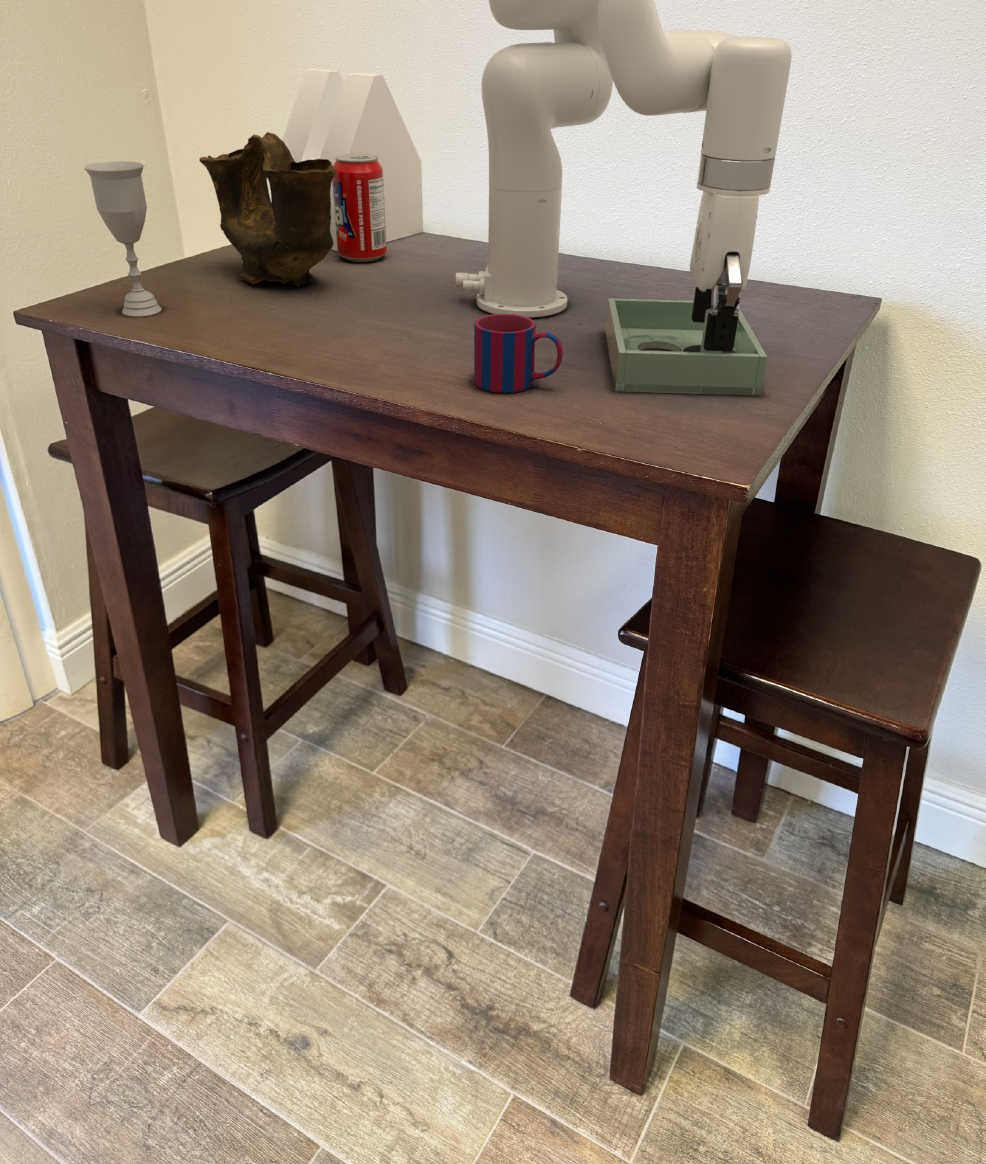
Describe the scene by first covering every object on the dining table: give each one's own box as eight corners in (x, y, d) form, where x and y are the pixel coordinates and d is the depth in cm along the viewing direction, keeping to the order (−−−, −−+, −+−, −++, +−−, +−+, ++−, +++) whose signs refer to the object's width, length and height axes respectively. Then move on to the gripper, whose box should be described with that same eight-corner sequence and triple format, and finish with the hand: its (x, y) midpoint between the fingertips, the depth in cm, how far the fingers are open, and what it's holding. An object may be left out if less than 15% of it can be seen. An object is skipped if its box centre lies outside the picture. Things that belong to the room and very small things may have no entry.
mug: (491, 367, 110) (492, 309, 106) (569, 383, 106) (573, 324, 102) (463, 386, 105) (463, 326, 101) (544, 403, 101) (547, 341, 97)
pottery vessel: (362, 291, 135) (353, 140, 124) (300, 306, 129) (285, 148, 118) (263, 257, 150) (247, 120, 139) (202, 270, 143) (181, 126, 132)
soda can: (384, 264, 147) (379, 161, 139) (334, 263, 147) (326, 160, 139) (389, 252, 154) (385, 152, 146) (341, 251, 154) (334, 151, 146)
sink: (615, 391, 104) (618, 352, 102) (605, 333, 121) (608, 298, 118) (760, 395, 104) (767, 356, 101) (730, 336, 120) (735, 301, 118)
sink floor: (615, 391, 104) (616, 382, 104) (605, 333, 121) (606, 325, 120) (760, 395, 104) (761, 387, 103) (730, 336, 120) (731, 328, 120)
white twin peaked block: (359, 219, 173) (350, 65, 160) (423, 231, 166) (419, 71, 152) (281, 238, 160) (264, 72, 147) (346, 253, 153) (334, 79, 139)
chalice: (180, 307, 127) (156, 164, 118) (145, 321, 122) (116, 172, 112) (138, 299, 130) (111, 159, 120) (102, 313, 125) (70, 167, 115)
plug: (684, 374, 106) (691, 319, 103) (678, 354, 111) (684, 301, 108) (741, 376, 106) (750, 321, 102) (732, 356, 111) (740, 303, 108)
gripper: (687, 159, 105) (669, 311, 114) (711, 189, 90) (687, 361, 100) (755, 160, 105) (731, 313, 114) (789, 191, 90) (758, 363, 100)
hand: (711, 335), depth 107 cm, fingers open, 9 cm apart
